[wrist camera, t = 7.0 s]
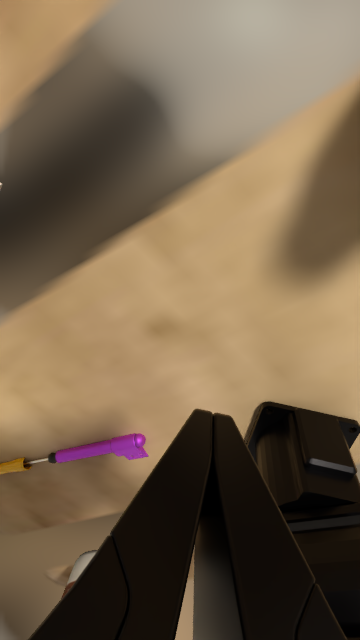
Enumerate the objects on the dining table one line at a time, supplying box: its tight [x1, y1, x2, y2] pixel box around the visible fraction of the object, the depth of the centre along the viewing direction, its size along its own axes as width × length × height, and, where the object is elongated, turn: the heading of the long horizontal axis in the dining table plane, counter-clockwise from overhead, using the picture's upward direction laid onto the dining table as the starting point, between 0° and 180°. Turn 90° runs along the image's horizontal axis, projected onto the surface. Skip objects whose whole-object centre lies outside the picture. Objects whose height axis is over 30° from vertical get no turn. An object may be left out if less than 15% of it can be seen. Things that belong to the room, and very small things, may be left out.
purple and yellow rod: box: [0, 434, 148, 474], centre depth 28 cm, size 3×1×16 cm
